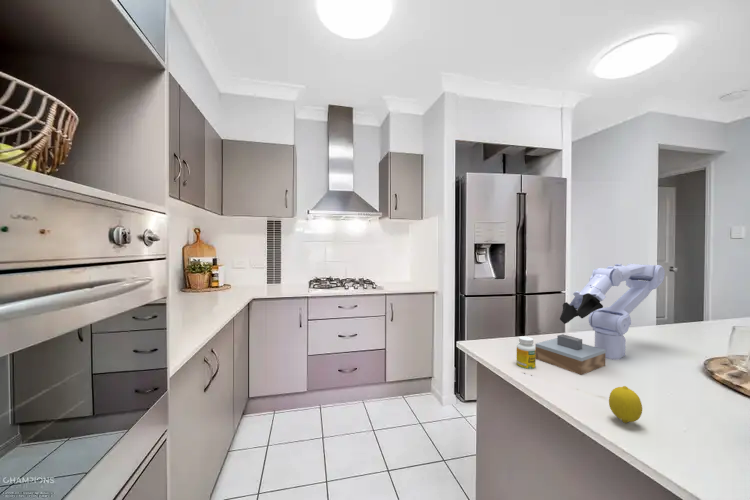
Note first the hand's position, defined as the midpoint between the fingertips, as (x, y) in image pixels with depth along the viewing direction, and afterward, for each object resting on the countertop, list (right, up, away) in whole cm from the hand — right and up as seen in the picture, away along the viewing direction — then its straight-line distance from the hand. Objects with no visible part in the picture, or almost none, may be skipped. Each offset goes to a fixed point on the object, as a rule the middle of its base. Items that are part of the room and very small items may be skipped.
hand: (570, 318), depth 92 cm
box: (+2, -16, +3) cm, 16 cm away
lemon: (-7, -17, -28) cm, 33 cm away
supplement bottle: (-14, -16, 0) cm, 21 cm away
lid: (+2, -12, +3) cm, 13 cm away
